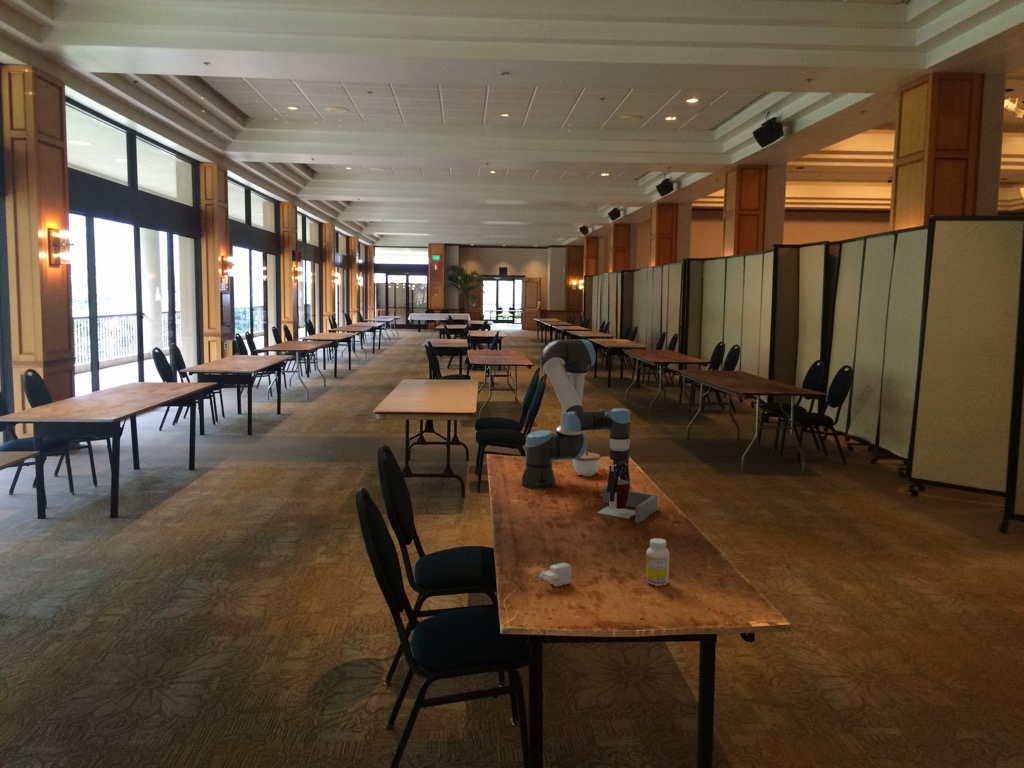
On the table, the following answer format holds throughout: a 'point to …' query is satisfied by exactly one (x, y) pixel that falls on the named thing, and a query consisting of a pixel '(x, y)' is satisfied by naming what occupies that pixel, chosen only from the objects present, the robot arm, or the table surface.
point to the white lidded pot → (587, 464)
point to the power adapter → (557, 574)
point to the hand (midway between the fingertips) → (618, 505)
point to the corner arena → (641, 502)
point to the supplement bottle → (657, 562)
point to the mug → (622, 493)
